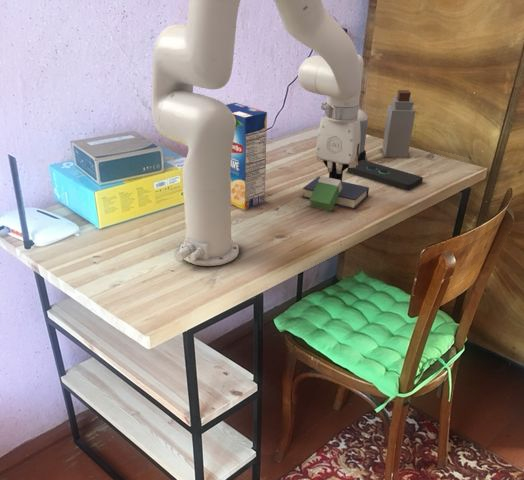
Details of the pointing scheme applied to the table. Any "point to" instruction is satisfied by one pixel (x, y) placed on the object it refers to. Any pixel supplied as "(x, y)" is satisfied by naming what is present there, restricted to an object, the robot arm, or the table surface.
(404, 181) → the smart home device
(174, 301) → the table surface
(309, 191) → the book
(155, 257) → the table surface
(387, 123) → the perfume bottle
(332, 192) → the green and white eraser
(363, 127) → the humidifier
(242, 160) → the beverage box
